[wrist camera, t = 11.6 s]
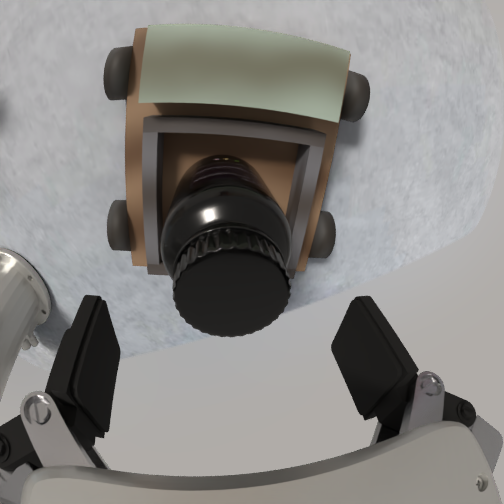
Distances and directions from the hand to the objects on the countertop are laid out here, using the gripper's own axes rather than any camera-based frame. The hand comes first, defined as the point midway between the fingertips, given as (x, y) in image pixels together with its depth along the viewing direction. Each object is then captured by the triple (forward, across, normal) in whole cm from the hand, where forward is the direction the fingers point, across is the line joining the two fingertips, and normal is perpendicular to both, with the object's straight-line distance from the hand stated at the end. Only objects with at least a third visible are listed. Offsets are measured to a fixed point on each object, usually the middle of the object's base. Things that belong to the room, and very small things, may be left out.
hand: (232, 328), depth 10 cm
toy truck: (+16, -1, -3) cm, 17 cm away
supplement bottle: (+13, 0, 0) cm, 13 cm away
